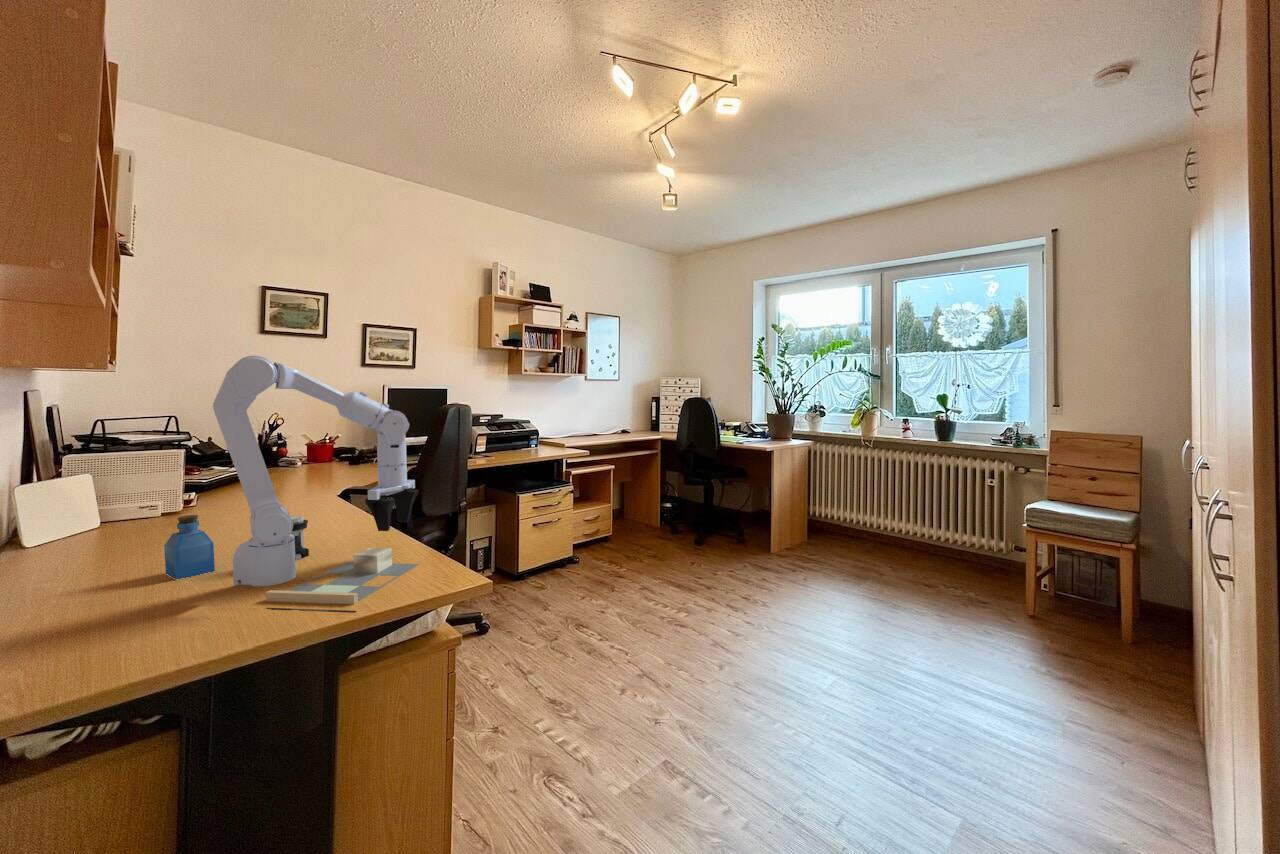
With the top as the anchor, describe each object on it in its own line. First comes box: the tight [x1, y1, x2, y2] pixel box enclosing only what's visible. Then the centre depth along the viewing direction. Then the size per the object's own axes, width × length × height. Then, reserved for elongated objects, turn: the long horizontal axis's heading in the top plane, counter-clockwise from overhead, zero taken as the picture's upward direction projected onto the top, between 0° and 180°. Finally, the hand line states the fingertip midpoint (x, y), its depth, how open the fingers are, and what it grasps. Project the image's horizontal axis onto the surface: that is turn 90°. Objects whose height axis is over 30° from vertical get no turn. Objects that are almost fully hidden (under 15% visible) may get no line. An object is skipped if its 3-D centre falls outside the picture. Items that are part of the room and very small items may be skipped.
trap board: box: [265, 561, 420, 614], centre depth 95 cm, size 16×21×3 cm
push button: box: [290, 515, 310, 562], centre depth 110 cm, size 7×5×10 cm
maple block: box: [353, 547, 393, 573], centre depth 102 cm, size 5×5×4 cm
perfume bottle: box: [163, 514, 216, 580], centre depth 104 cm, size 6×6×12 cm
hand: (393, 526), depth 109 cm, fingers open, 7 cm apart
